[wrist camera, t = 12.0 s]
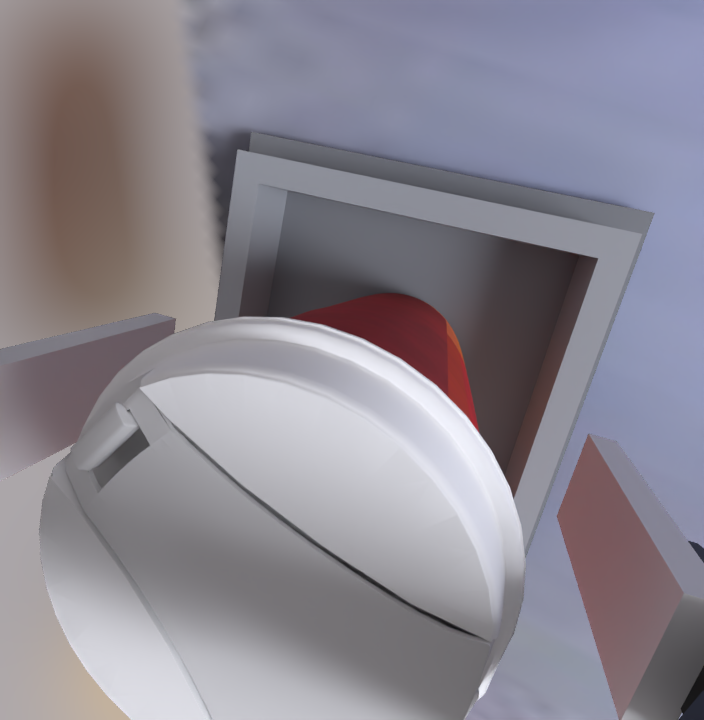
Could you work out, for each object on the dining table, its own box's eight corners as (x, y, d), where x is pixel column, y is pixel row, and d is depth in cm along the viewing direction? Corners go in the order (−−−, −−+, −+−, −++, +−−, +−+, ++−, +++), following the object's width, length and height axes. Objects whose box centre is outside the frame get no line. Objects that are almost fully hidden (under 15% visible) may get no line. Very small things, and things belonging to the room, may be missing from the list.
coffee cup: (266, 346, 23) (-73, 535, 8) (402, 222, 20) (241, 192, 6) (383, 483, 23) (247, 884, 9) (533, 379, 20) (685, 715, 6)
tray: (261, 136, 22) (216, 114, 18) (645, 214, 19) (688, 208, 15) (213, 458, 26) (169, 496, 22) (518, 558, 23) (527, 620, 20)
